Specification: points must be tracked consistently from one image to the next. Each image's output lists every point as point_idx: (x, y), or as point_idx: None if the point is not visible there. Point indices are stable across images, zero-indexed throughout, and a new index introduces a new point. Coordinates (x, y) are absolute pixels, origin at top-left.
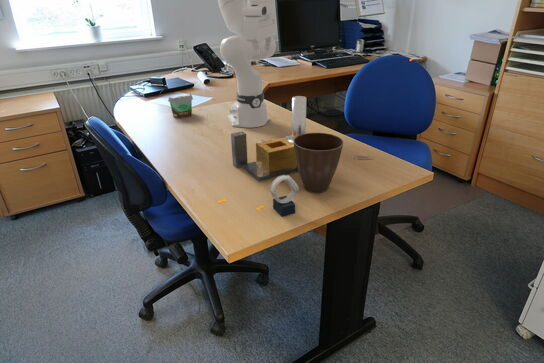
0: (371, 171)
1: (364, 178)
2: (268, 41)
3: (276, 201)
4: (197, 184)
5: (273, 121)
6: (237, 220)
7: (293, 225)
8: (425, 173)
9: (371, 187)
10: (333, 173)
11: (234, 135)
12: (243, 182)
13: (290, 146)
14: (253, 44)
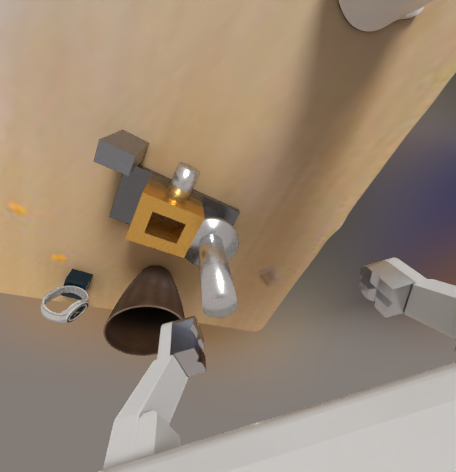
0: None
1: None
2: (451, 320)
3: (65, 283)
4: (3, 127)
5: (402, 37)
6: (9, 255)
7: (66, 300)
8: (257, 329)
9: (197, 312)
10: (155, 313)
11: (98, 157)
12: (88, 195)
13: (174, 251)
14: (122, 425)
